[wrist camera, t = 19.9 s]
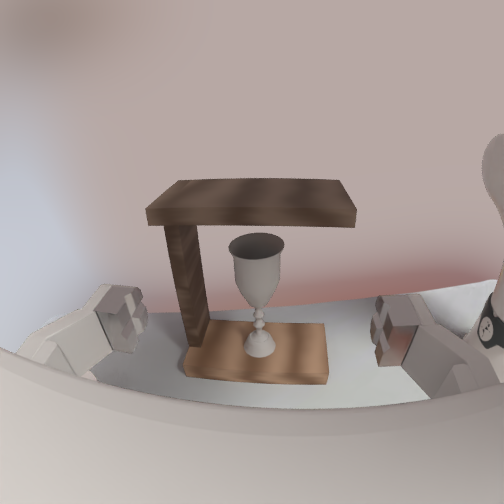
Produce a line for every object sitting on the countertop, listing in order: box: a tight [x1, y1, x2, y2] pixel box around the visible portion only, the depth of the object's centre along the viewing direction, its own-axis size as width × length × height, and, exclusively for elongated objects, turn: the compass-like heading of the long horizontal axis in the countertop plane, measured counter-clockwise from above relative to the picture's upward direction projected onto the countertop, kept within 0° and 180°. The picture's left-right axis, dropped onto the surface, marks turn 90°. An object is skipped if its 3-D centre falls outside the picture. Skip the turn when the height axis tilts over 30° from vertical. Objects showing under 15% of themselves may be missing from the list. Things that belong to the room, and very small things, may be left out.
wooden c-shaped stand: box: [146, 178, 357, 385], centre depth 41 cm, size 22×11×28 cm, turn 84°
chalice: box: [229, 233, 284, 358], centre depth 42 cm, size 7×7×18 cm
